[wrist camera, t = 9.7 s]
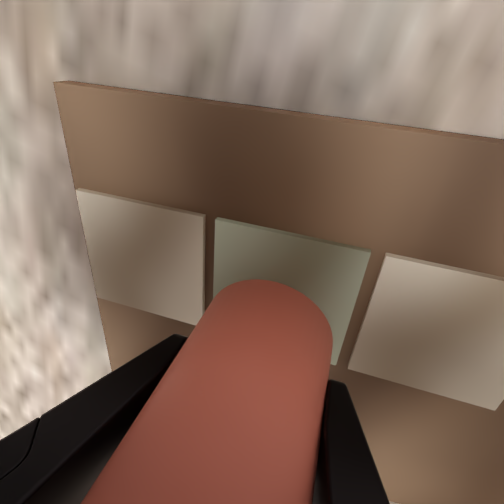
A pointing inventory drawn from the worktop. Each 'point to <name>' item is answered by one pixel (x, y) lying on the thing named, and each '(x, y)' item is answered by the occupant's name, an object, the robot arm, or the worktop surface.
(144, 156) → the board
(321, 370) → the red cylinder
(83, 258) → the worktop surface
